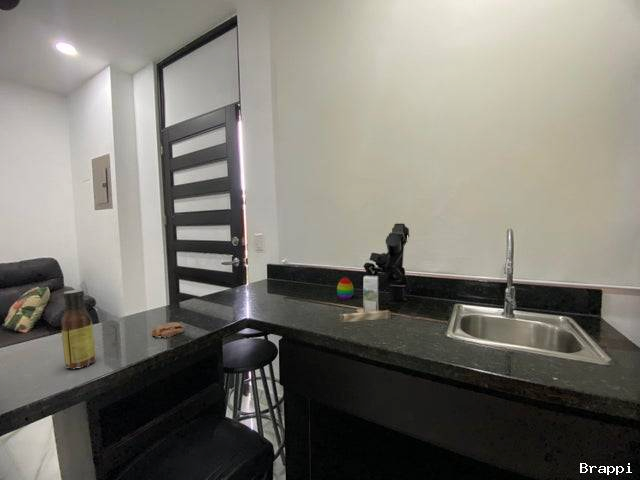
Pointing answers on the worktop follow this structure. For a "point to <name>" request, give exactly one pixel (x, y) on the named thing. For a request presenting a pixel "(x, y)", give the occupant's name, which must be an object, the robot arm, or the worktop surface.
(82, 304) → the sauce bottle
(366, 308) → the syrup box
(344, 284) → the decorative egg
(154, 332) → the cookie
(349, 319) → the straightedge
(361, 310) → the end pad
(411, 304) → the worktop surface
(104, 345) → the worktop surface
